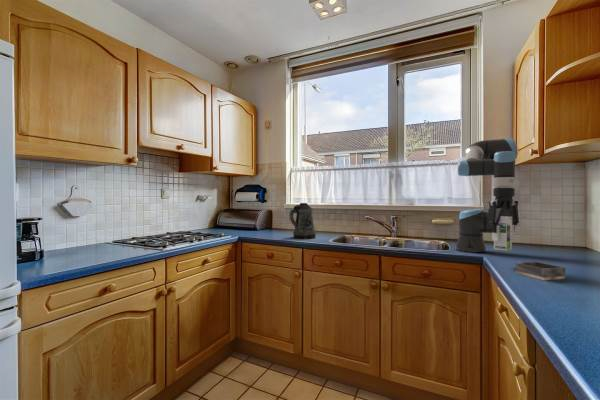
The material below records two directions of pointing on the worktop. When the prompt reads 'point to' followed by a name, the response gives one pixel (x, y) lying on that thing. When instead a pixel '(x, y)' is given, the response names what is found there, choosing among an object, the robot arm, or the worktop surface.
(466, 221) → the robot arm
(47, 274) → the worktop surface
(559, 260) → the worktop surface
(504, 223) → the syrup box
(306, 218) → the black handled container
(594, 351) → the worktop surface
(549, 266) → the frame
